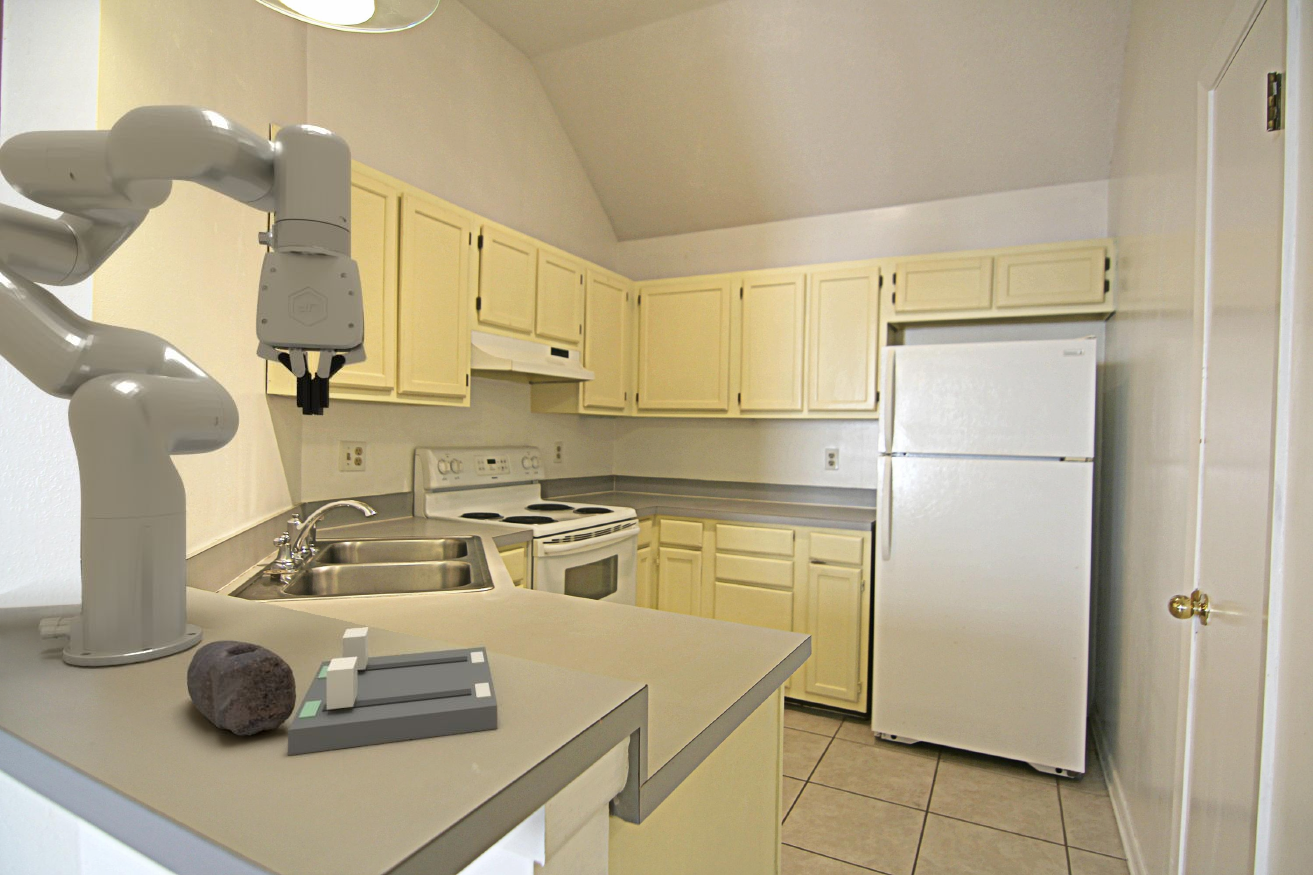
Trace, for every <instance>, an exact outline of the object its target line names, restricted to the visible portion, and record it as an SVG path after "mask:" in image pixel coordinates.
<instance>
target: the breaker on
mask: <svg viewBox="0 0 1313 875" xmlns="http://www.w3.org/2000/svg"><path fill="white" fill-rule="evenodd" d="M369 632H370V630H369V626H365V627H353V628H346V630H345V632H344V634H343V636H342V658H348V657H357V670H363V669H366V665H367V662H368V657H369V652H370V651H369V649H370V648H369V644H370V643H369V638H370V637H369V634H370V633H369Z"/></svg>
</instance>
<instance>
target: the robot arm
mask: <svg viewBox="0 0 1313 875" xmlns="http://www.w3.org/2000/svg"><path fill="white" fill-rule="evenodd" d="M349 146H350V145H349V144H348V142H346V140H345V139H344V138H343V137H342V136H341V135H339V134H338V133H336V132H334V131H332V130H330V129H327V128H324V127H321V126H317V125H312V124H305V123H302V124H301V123H295V124H287V125H285V126H283V127H281V128H280V129H278V130H277V132H276V133H275V136H274V140H273V141H272V140H270V139H268V138H265V137H264V136H262V135H259V134H258V133H256V132H254V131H253V130H251V129H250V128H248V127H246V126H244V125H242V124H241V123H239V122H238V121H235V120H233V119H232V118H230V117H228V116H227V115H225V114H223V113H220V112H218V111H215V110H212V109H210V108H206V107H201V106H196V105H189V104H188V105H187V104H186V105H183V104H170V105H169V104H167V105H166V104H165V105H164V104H163V105H143V106H139V107H135V108H133V109H131V110H129V111H126V113H125V114H124V115H122V116H121V117H120V118H119V119H118V120H117V121H115V123H114V124H113V126H112V127H111V129H95V130H93V129H90V130H89V129H87V130H86V129H85V130H84V129H81V130H80V129H77V130H75V129H73V130H71V129H70V130H69V129H68V130H63V129H61V130H33V131H26V132H22V133H19V134H15V135H13V136H11V137H10V138H8V139H7V140H5V141H4V143H3V144H2V145H1V147H0V173H1V175H2V177H4V178H3V179H4V180H5V181H6V182H7V184H9V185H10V187H11V189H13V190H15V191H16V192H18V194H20V195H21V196H23V197H24V198H26V199H27V200H30V201H32V202H34V203H35V204H38V205H40V206H43V207H47V208H49V209H52V210H55V211H59V212H63V213H62V214H61V215H60V216H59V217H58V218H56V219H55V218H51V217H49V216H45V215H41V214H38V213H35V212H32V211H28V210H26V209H22V208H20V207H19V208H18V207H15V206H11V205H7V204H4V203H3V202H0V356H1V357H2V358H4V360H5V361H7V362H8V363H9V364H10V365H11V366H12V367H14V368H15V369H16V370H17V371H18V372H19V373H20V374H22V375H23V376H24V377H25V378H26V379H27V380H28V381H30V382H31V383H32V384H33V385H35V387H37V388H38V389H40V390H41V391H43V392H44V393H46V394H48V395H49V396H51V397H55V398H58V399H62V400H63V399H64V400H68V401H69V400H70V401H69V404H68V409H67V419H68V427H69V432H70V435H71V438H72V442H73V447H74V450H75V455H76V459H77V465H78V466H77V467H78V472H79V474H78V475H79V482H80V483H79V484H80V540H81V558H80V560H81V562H80V579H81V580H82V585H81V612H80V613H77V614H76V615H75V616H72V617H64V616H62V617H46V618H42V619H41V620H40V622H39V624H38V634H39V635H40V639H41V640H50V639H51V640H52V639H58V638H66V639H67V640H70V643H68V644H67V645H66V646H65V647H64V648H63V650H62V660H63V661H65V663H67V664H69V665H74V666H80V667H81V666H82V667H103V666H104V667H106V666H114V665H117V666H118V665H124V664H132V663H138V662H143V661H148V660H153V659H158V658H162V657H166V656H169V655H172V654H176V653H180V652H182V651H185V650H187V649H189V648H191V647H193V646H195V645H197V644H198V643H199V642H201V640H202V639H203V629H202V628H201V626H199V625H196V624H193V623H187V495H186V488H185V485H184V482H183V479H182V476H181V474H180V473H179V471H178V468H176V466H175V464H174V461H173V460H172V458H171V456H183V455H187V456H189V455H197V454H200V455H201V454H206V453H211V452H214V451H215V452H216V451H217V450H220V449H222V448H224V447H225V446H227V445H228V444H229V443H231V441H232V440H233V439H234V438H235V436H236V434H237V432H238V430H239V425H240V414H239V409H238V406H237V404H236V401H235V400H234V398H233V396H232V395H231V393H230V392H228V390H227V389H226V388H225V387H224V386H223V385H222V384H221V383H220V382H219V381H217V380H216V379H215V378H214V377H213V376H212V375H210V374H209V373H208V372H207V371H205V369H203V368H202V367H200V365H198V363H197V362H195V361H194V360H192V359H191V358H190V357H189V356H188V355H186V354H185V353H184V352H182V351H181V350H180V349H179V348H178V347H177V346H175V345H174V344H172V343H171V342H170V341H167V340H166V339H164V338H162V337H160V336H159V335H156V334H154V333H151V332H148V331H145V330H140V329H135V328H129V327H123V326H119V325H118V326H117V325H112V324H106V323H102V322H97V321H93V320H89V319H87V318H84V317H82V316H81V315H79V314H78V313H76V312H75V311H74V310H73V309H71V308H70V307H68V305H66V304H64V303H63V302H62V301H61V300H60V298H58V297H57V296H56V295H55V294H53V293H52V292H51V291H49V290H48V289H46V288H45V287H43V286H41V285H40V284H42V285H46V286H54V287H68V286H74V285H77V284H79V283H83V282H84V281H86V280H87V279H88V278H89V277H90V276H92V275H93V274H94V273H96V271H98V269H99V268H100V267H102V265H103V264H104V263H106V262H107V260H108V259H109V258H110V257H111V256H112V255H113V254H114V253H115V252H116V251H117V250H118V249H119V248H120V247H121V246H122V245H123V244H124V243H125V242H126V241H127V240H128V239H129V238H130V237H131V236H132V235H133V234H134V232H135V231H136V230H137V229H138V228H140V226H141V225H142V224H143V223H144V221H145V219H146V217H147V216H148V214H149V213H150V210H151V209H156V208H158V207H159V206H161V205H164V204H165V202H166V201H167V200H168V199H169V197H170V195H171V193H172V188H173V181H183V182H184V181H186V182H191V183H196V184H198V185H200V186H202V187H205V188H208V189H210V190H212V191H215V192H217V193H219V194H221V195H224V196H226V197H228V198H230V199H233V201H234V200H235V201H237V202H239V203H241V204H243V205H246V206H247V207H250V208H253V209H255V210H258V211H261V212H263V213H270V214H273V224H271V228H270V230H269V231H268V230H267V231H258V234H257V238H258V244H259V245H260V246H261V245H262V246H267V247H270V248H271V249H272V251H267V252H264V256H263V260H262V265H261V269H260V270H261V271H260V276H259V282H258V292H257V303H256V313H255V332H256V334H255V335H256V338H257V340H258V341H259V342H258V345H257V349H256V352H255V353H256V356H257V357H259V358H261V359H264V360H268V361H272V362H275V363H279V364H282V365H283V366H284V367H285V369H287V370H288V371H289V372H290V373H292V375H293V376H294V377H296V407H297V408H300V409H301V408H302V410H301V413H302V415H303V416H313V415H314V416H323V415H324V409H329V407H330V380H331V379H332V378H333V376H334V375H336V374H337V373H338V372H339V371H340V370H341V369H342V368H344V367H345V366H347V365H348V366H349V365H354V364H356V365H357V364H360V363H364V362H366V361H367V360H368V359H367V358H368V357H367V353H366V350H365V345H364V343H365V315H364V301H363V290H362V282H361V274H360V270H359V265H358V262H357V260H356V259H355V260H354V259H352V152H351V149H350V147H349ZM282 350H283V351H282ZM285 351H286V352H285ZM287 351H288V352H287ZM307 352H319V357H318V363H317V367H316V368H317V369H316V370H317V371H315V372H314V377H313V378H312V376H313V375H312V373H311V372H310V367H309V362H308V356H307ZM81 580H80V581H81Z"/></svg>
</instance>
